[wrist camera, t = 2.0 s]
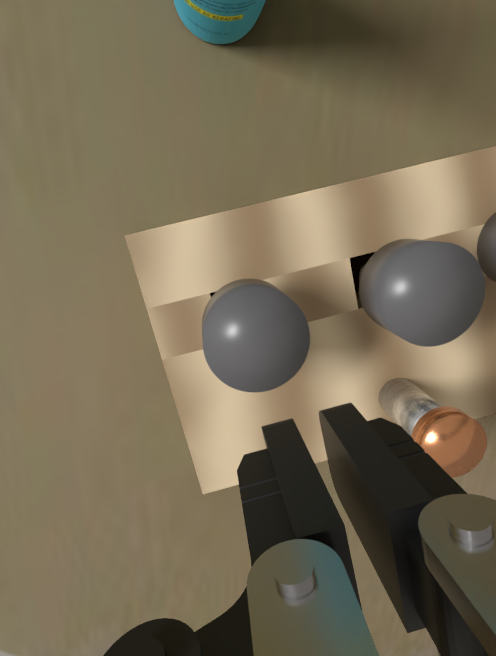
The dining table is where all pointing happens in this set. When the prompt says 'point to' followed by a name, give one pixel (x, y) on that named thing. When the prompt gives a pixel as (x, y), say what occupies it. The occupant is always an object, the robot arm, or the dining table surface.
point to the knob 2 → (488, 248)
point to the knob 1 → (254, 336)
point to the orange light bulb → (435, 426)
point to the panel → (317, 304)
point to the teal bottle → (219, 18)
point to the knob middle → (422, 290)
